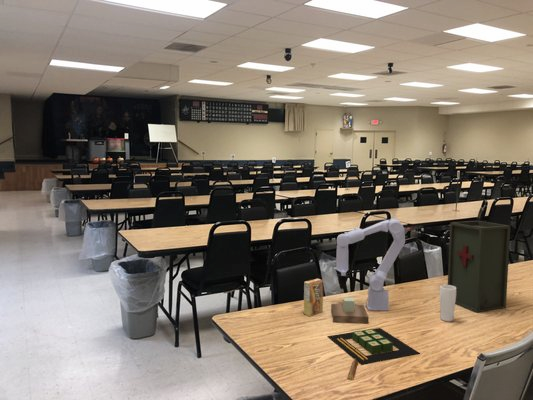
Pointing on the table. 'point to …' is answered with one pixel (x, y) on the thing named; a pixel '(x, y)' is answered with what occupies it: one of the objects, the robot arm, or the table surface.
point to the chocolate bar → (353, 370)
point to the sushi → (373, 345)
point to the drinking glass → (447, 302)
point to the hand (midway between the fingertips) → (341, 286)
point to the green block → (348, 304)
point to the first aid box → (479, 264)
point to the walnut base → (349, 314)
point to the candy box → (313, 297)
